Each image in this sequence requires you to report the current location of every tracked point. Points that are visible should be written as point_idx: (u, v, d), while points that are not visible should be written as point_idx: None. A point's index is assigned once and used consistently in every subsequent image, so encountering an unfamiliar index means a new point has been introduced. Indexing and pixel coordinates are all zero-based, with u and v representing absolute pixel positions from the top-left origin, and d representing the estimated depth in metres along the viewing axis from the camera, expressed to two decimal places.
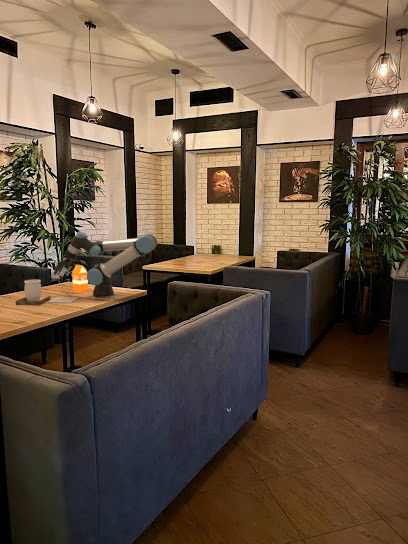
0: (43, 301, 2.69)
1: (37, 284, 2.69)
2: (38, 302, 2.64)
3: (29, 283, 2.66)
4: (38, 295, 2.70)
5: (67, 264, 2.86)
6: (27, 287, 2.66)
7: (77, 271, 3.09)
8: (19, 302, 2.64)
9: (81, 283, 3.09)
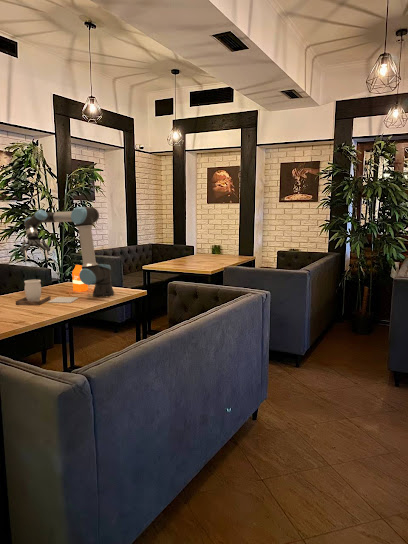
0: (43, 301, 2.69)
1: (37, 284, 2.69)
2: (38, 302, 2.64)
3: (29, 283, 2.66)
4: (38, 295, 2.70)
5: (41, 246, 2.88)
6: (27, 287, 2.66)
7: (77, 271, 3.09)
8: (19, 302, 2.64)
9: (81, 283, 3.09)
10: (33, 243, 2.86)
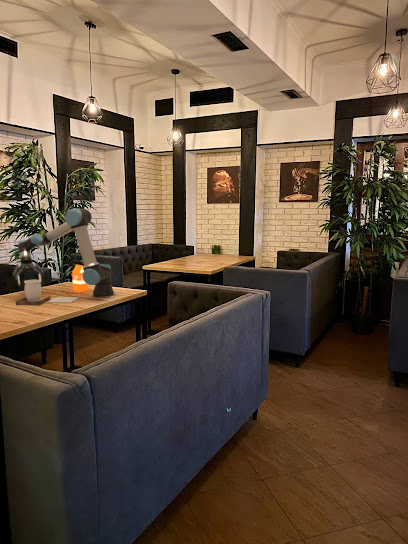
0: (43, 301, 2.69)
1: (37, 284, 2.69)
2: (38, 302, 2.64)
3: (29, 283, 2.66)
4: (38, 295, 2.70)
5: (34, 270, 2.82)
6: (27, 287, 2.66)
7: (77, 271, 3.09)
8: (19, 302, 2.64)
9: (81, 283, 3.09)
10: (26, 267, 2.81)
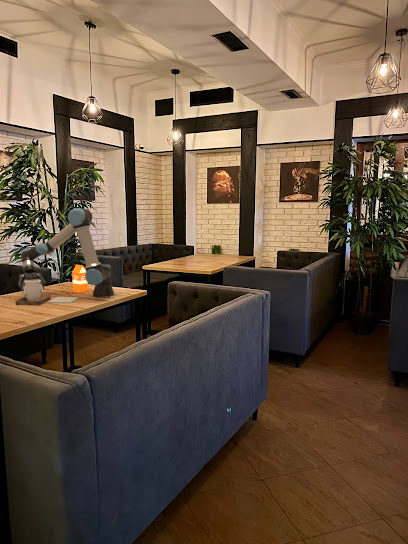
0: (43, 301, 2.69)
1: (37, 284, 2.69)
2: (38, 302, 2.64)
3: (29, 283, 2.66)
4: (38, 295, 2.70)
5: None
6: (27, 287, 2.66)
7: (77, 271, 3.09)
8: (19, 302, 2.64)
9: (81, 283, 3.09)
10: (30, 276, 2.75)
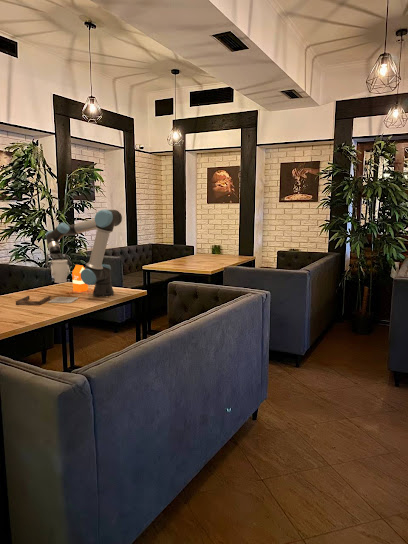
0: (43, 301, 2.69)
1: (64, 264, 2.73)
2: (38, 302, 2.64)
3: (57, 262, 2.70)
4: (65, 274, 2.74)
5: None
6: (55, 266, 2.70)
7: (77, 271, 3.09)
8: (19, 302, 2.64)
9: (81, 283, 3.09)
10: (56, 257, 2.79)
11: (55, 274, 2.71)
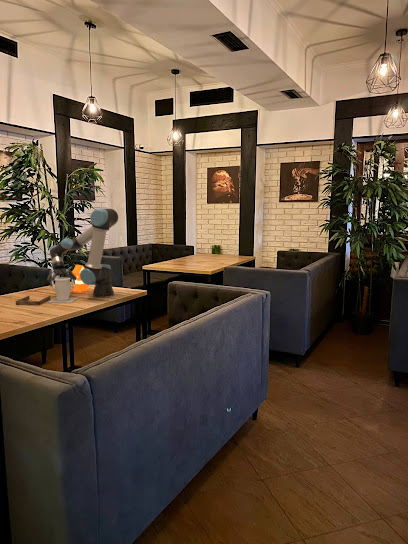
0: (43, 301, 2.69)
1: (67, 282, 2.74)
2: (38, 302, 2.64)
3: (59, 281, 2.71)
4: (68, 293, 2.76)
5: (67, 275, 2.82)
6: (57, 285, 2.72)
7: (77, 271, 3.09)
8: (19, 302, 2.64)
9: (81, 283, 3.09)
10: (59, 272, 2.81)
11: (58, 292, 2.73)
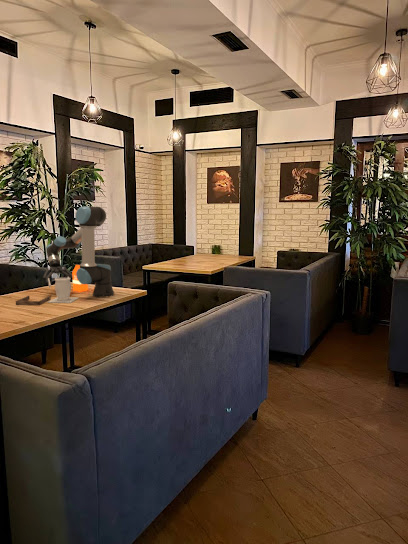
0: (43, 301, 2.69)
1: (67, 282, 2.74)
2: (38, 302, 2.64)
3: (60, 281, 2.72)
4: (68, 293, 2.76)
5: (63, 273, 2.93)
6: (58, 285, 2.72)
7: None
8: (19, 302, 2.64)
9: None
10: (55, 270, 2.92)
11: (58, 292, 2.73)
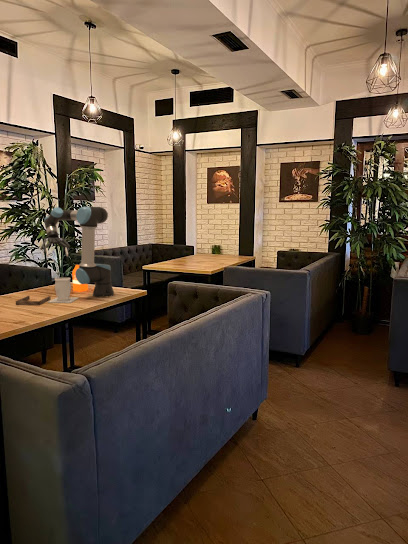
0: (43, 301, 2.69)
1: (67, 282, 2.74)
2: (38, 302, 2.64)
3: (60, 281, 2.72)
4: (68, 293, 2.76)
5: (61, 244, 2.96)
6: (58, 285, 2.72)
7: None
8: (19, 302, 2.64)
9: None
10: (53, 241, 2.94)
11: (58, 292, 2.73)
